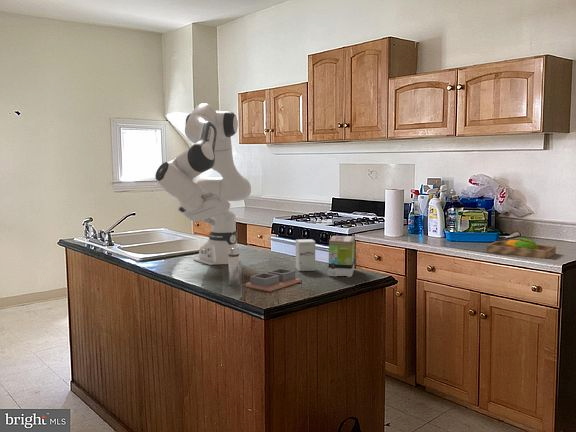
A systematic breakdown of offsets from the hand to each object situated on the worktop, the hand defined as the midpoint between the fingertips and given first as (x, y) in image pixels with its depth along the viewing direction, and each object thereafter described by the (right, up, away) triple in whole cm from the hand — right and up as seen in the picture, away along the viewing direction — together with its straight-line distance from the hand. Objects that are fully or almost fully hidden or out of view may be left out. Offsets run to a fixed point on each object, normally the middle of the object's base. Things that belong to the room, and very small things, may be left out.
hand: (221, 221), depth 197 cm
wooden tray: (+138, -16, +66) cm, 154 cm away
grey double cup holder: (+19, -24, +8) cm, 31 cm away
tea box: (+47, -22, +27) cm, 58 cm away
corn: (+138, -16, +67) cm, 154 cm away
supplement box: (+32, -21, +34) cm, 51 cm away
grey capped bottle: (+4, -24, +9) cm, 26 cm away
